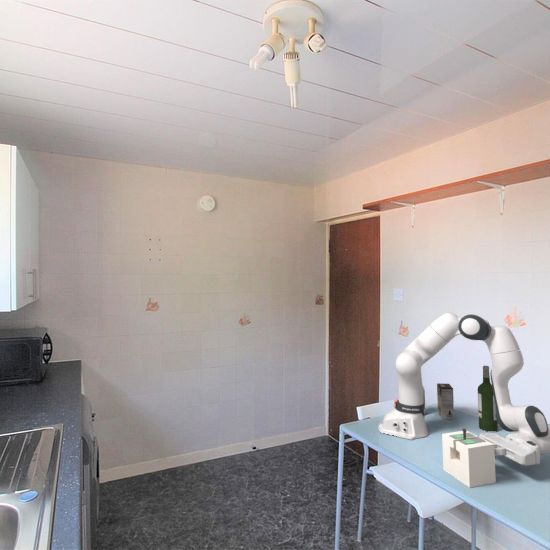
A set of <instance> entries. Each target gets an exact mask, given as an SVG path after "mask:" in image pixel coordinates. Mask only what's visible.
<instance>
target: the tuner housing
mask: <svg viewBox="0 0 550 550" xmlns="http://www.w3.org/2000/svg"><path fill="white" fill-rule="evenodd" d="M441 439H442V440H441V441H442V445H441V446H442V468H443V471H444V472H446V473H448V474H449V475H451V477H453V478H455V479H456V480H458V482H460V483H462V484H464V485H465V486H467V488H469V489H471V488H475V487H480V486H487V485H492V484H495V483H496V482H497V481H496V479H497V478H496V461H495V460H496V459H495V458H496V455H495V452H494V444H493V443H491V442H489V441H487V440H485V439H483V438H479V435H476V434H474V433H472V432H471V431H468V430H467V431H466V440H463V431H462V430H459V431H453V432H452V431H451V432H447V433H446V432H445V433H442V434H441ZM457 451H459V452H460V460H459V459H458V458H457Z"/></svg>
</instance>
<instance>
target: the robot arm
mask: <svg viewBox="0 0 550 550" xmlns="http://www.w3.org/2000/svg"><path fill="white" fill-rule="evenodd" d="M459 335H461V336H462V337H464V338H465V339H468V340H471V341H483V342H484V343H485V344H486V346H487V348H488V351H489V354H490V359H491V364H492V366H491V369H490V372H489V375H490V383H491V384H492V388H493V394H494V399H495V405H496V419H497V422H498V426H499V427H500V428H502V430H504V431H505V432H509V433H508V434H507V435H506V436H505V437H504V436H503V435H501V434H499V433H495V432H483V433H482V432H481V433H480V434H479V435H478V438H483V439H485V440H487V441H489V442H491V443H493V444H494V449H495V453H496V455H501V456H504V457H506V458H508V459H510V460H512V461H514V462H515V463H517V464H520V465H521V466H525V467H526V466H532V465H533V466H534V465H540V464H541V456H544V455H548V454H550V428H549V426H548V425H549V424H548V421H547V418H546V416H545V414H544V413H543V411H542V410H540V409H539V407H537V406H535V405H513V403H512V400H511V396H510V390H509V381H510V380H511V378H513V377H514V376H516V375H517V374H518V373H519V372H520V371H521V370H522V369H523V367H524V364H525V363H524V357H523V354H522V350H521V348H520V346H519V344H518V341H517V340H516V336H515V335H514V334H513V331H512V330H511V329H510V328H509V327H506V326H503V325H497V326H496V325H495V326H491V324H490V323H489V321H488V320H487V319H486V318H484V317H483V316H481V315H478V314H467V315H464V316H463V317H460V316H458V315H457V314H456V313H453V312H445V313H443V314H441V315H440V316H439V317H437V318H436V319H434V320H433V321H432V322H431V323H430V324H429V325H428V326H427V327H426V328H425V329H424V330H422V332H420V334H418V336H417V337H415V339H413V340H412V341H411V342H410V343H409V344H408V345H407V346H406V347H405V348H403V350H402V351H401V352H400V353H399V354H398V355H397V357H396V358H395V371H396V379H397V386H398V387H397V388H398V390H397V391H398V398H395V399H394V400H393V401H394V404H393V405H394V408H393V409H391V410H389V411H388V412H386V413H385V415H384V416H383V420H382V422H380V423H379V424H378V426H377V427H378V428H377V429H378V430H379V431H380V432H381V433H380V432H379V431H378V432H379V433H380V434H383V433H385V434H384V435H387V434H389V435H388V436H392V435H394V436H393V437H396V436H397V437H396V438H400V439H401V438H402V439H406V440H410V441H411V440H412V441H414V440H416V439H420V438H422V439H423V438H425V437H428V436H429V432H428V429H427V423H426V419H425V418H426V417H425V414H426V405H425V406H424V402H423V388H424V386H423V378H422V366H423V365H425V363H427V362H428V361H429V360H431V359H432V358H433V357H434V356H435V355H437V354H438V353H439V352H440V351H441V350H443V349H444V348H445V346H446V345H448V344H449V343H450V342H451V341H452V340H453V339H454V338H455V337H457V336H459ZM382 423H383V424H382Z"/></svg>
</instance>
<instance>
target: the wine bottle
mask: <svg viewBox="0 0 550 550" xmlns="http://www.w3.org/2000/svg"><path fill="white" fill-rule="evenodd" d="M477 410H478V413H477V414H478V428H479V429H480V430H481V429H482V431H484V430H485V431H484V432H488V431H496V432H498V431H497V430H499V424H498V422H497V419H496V405H495V399H494V394H493V388H492V383H491V375H490V366H489V365H482V382H481V384H479V385H478V387H477Z"/></svg>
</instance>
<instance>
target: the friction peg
mask: <svg viewBox="0 0 550 550" xmlns="http://www.w3.org/2000/svg"><path fill="white" fill-rule="evenodd" d="M461 431H463V440H466V431H468V429H466V428H462V430H461ZM494 452H495V449H494ZM496 455H497V454H496V453H495V456H496ZM457 458H458V459H459V460H460V452H459V451H457Z"/></svg>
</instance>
